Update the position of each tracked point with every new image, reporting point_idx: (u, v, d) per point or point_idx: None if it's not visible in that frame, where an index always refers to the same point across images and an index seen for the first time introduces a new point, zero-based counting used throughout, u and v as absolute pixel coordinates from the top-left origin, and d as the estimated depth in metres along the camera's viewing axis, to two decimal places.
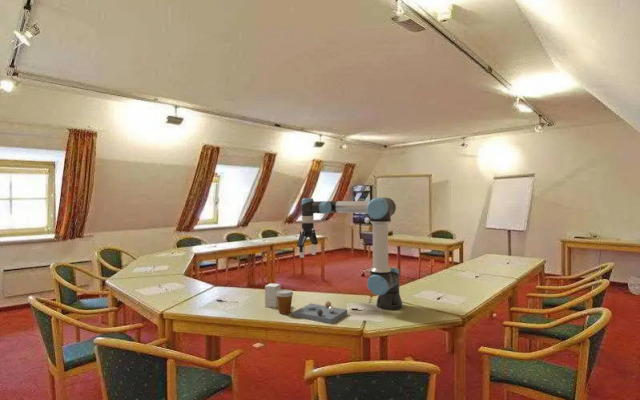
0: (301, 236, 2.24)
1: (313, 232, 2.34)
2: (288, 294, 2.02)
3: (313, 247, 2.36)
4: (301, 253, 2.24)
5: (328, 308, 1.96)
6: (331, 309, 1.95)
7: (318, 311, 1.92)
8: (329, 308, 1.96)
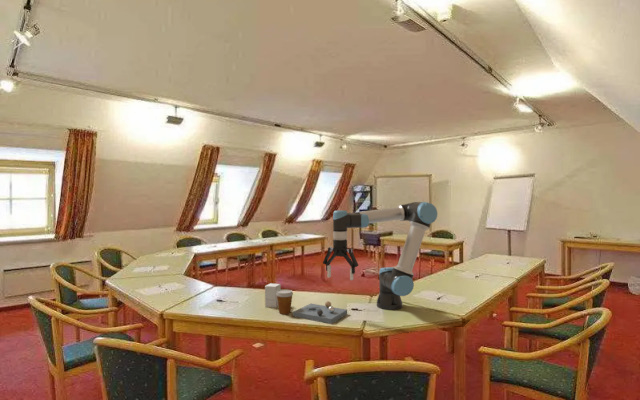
0: None
1: (348, 252, 1.92)
2: (288, 294, 2.02)
3: None
4: None
5: (328, 308, 1.96)
6: (331, 309, 1.95)
7: (318, 311, 1.92)
8: (329, 308, 1.96)
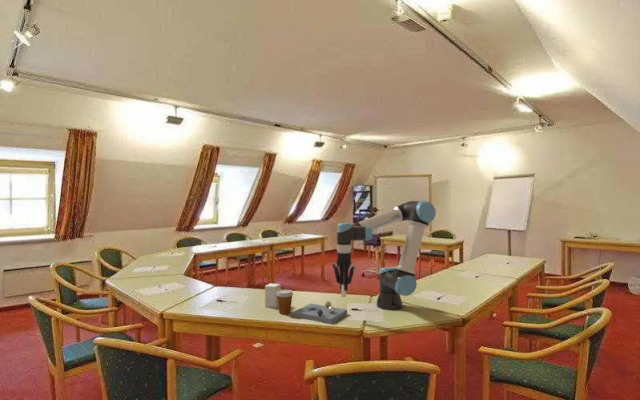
0: None
1: (350, 268, 1.90)
2: (288, 294, 2.02)
3: None
4: None
5: (328, 308, 1.96)
6: (331, 309, 1.95)
7: (318, 311, 1.92)
8: (329, 308, 1.96)
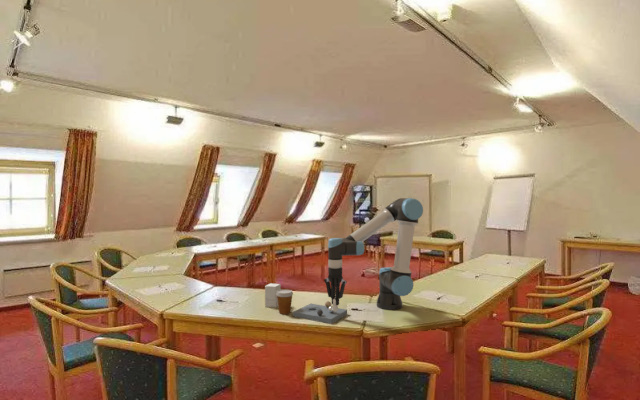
0: None
1: None
2: (288, 294, 2.02)
3: None
4: None
5: (328, 308, 1.96)
6: (331, 309, 1.95)
7: (318, 311, 1.92)
8: (329, 308, 1.96)
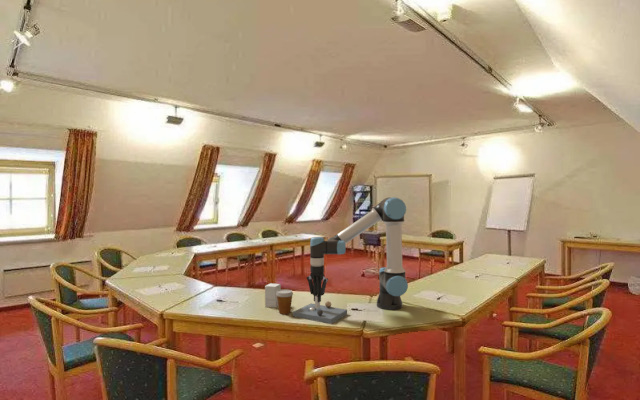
0: None
1: None
2: (288, 294, 2.02)
3: None
4: None
5: None
6: (310, 309, 2.03)
7: (318, 311, 1.92)
8: None
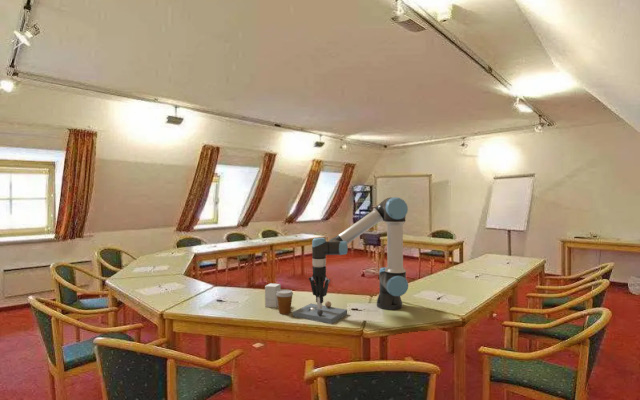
0: None
1: (325, 281, 1.98)
2: (288, 294, 2.02)
3: None
4: None
5: None
6: (311, 308, 2.03)
7: (318, 311, 1.92)
8: None
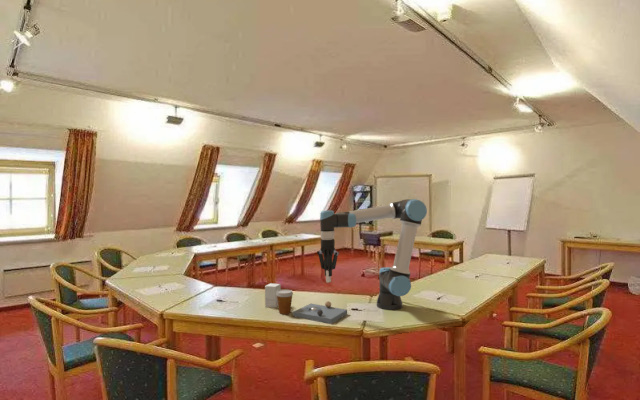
0: None
1: None
2: (288, 294, 2.02)
3: None
4: None
5: None
6: (312, 308, 2.03)
7: (318, 311, 1.92)
8: (311, 309, 2.03)
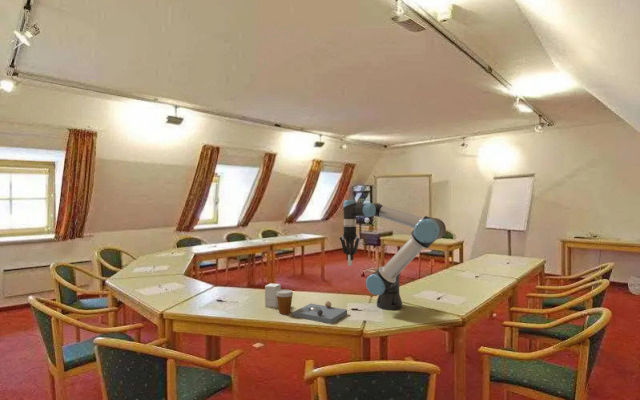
0: None
1: None
2: (288, 294, 2.02)
3: None
4: None
5: None
6: (312, 308, 2.03)
7: (318, 311, 1.92)
8: (310, 309, 2.03)
